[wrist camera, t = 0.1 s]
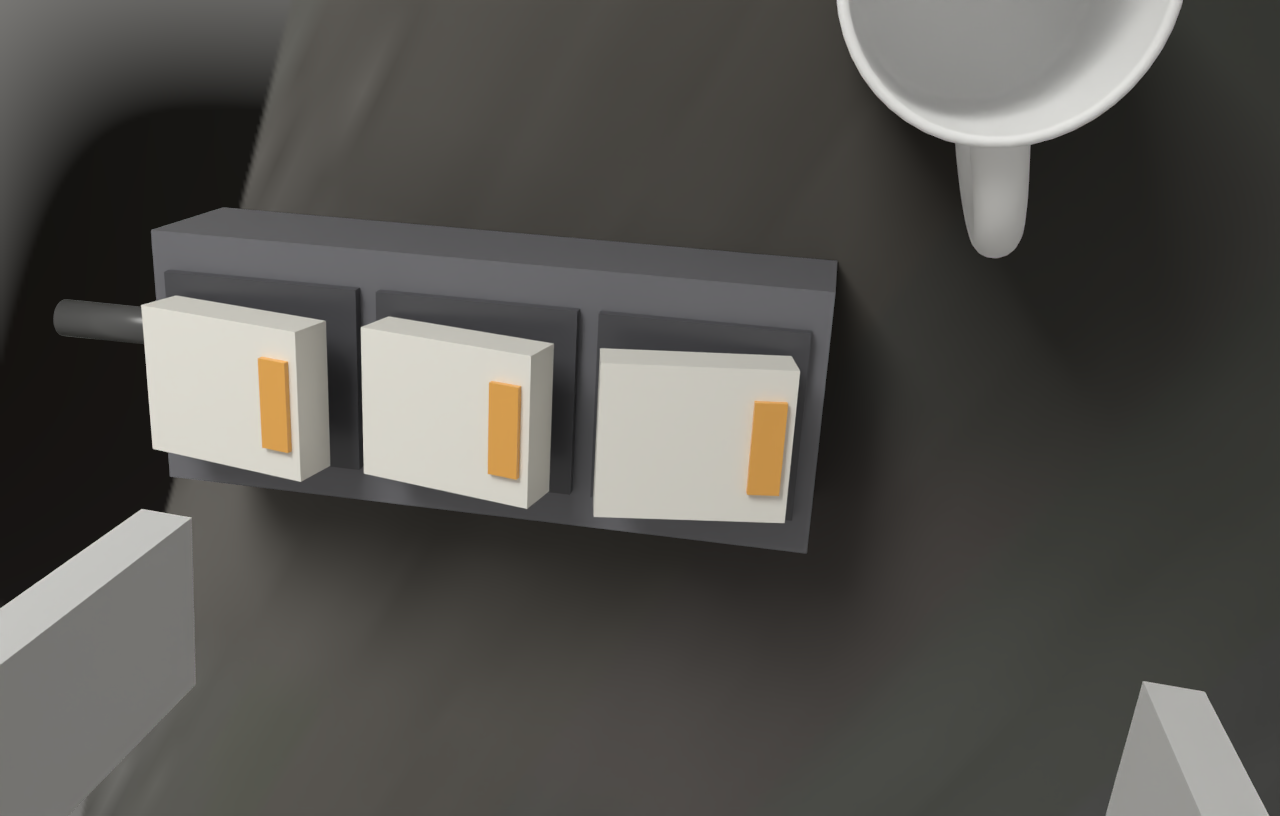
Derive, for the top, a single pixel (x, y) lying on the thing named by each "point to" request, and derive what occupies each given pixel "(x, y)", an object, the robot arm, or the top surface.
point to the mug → (1002, 82)
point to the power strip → (506, 305)
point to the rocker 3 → (694, 435)
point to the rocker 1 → (238, 386)
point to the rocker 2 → (457, 410)
